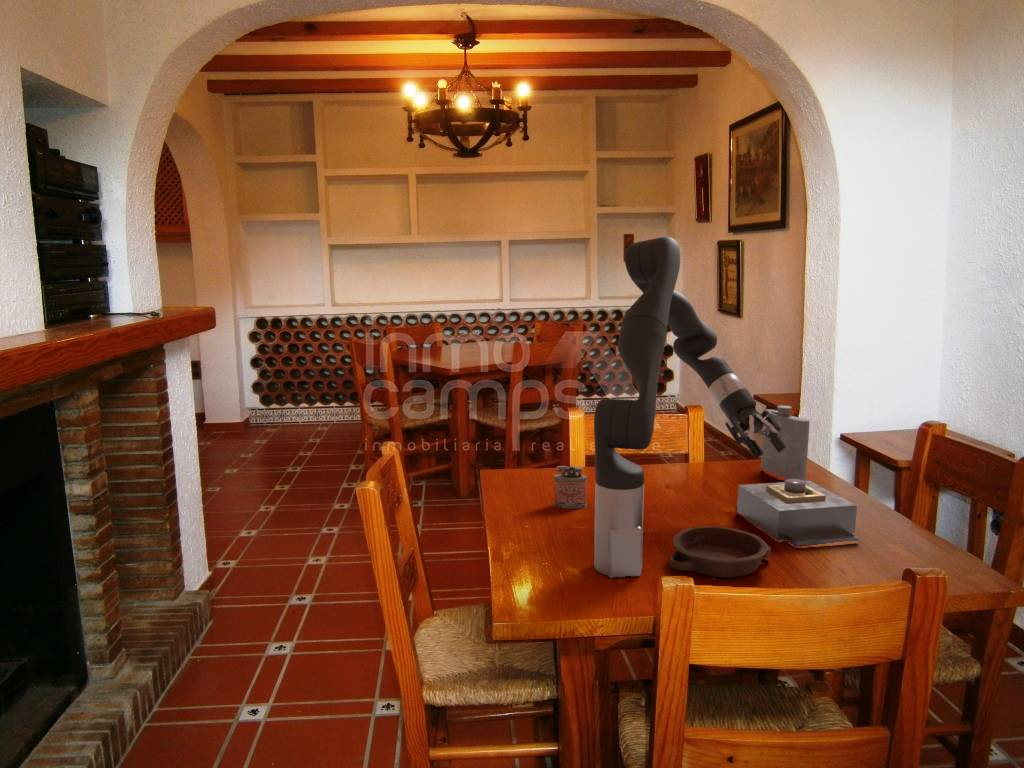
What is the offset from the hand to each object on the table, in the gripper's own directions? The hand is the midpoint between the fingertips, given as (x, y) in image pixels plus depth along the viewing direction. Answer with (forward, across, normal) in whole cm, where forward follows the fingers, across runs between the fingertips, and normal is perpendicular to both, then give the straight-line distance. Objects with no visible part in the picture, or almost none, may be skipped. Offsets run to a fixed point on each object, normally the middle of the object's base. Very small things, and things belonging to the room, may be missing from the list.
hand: (771, 453), depth 168 cm
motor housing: (+15, 0, +6) cm, 16 cm away
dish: (+18, -31, +4) cm, 36 cm away
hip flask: (0, +29, +22) cm, 37 cm away
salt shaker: (+15, 0, +6) cm, 17 cm away
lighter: (-13, -31, +35) cm, 49 cm away
